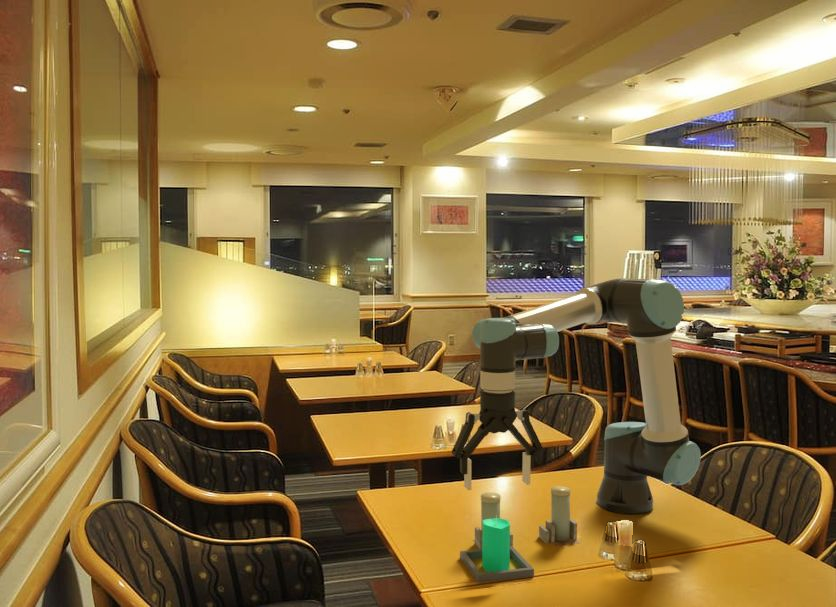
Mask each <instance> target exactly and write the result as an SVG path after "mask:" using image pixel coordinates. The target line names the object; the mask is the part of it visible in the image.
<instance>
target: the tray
mask: <svg viewBox="0 0 836 607" xmlns="http://www.w3.org/2000/svg"><path fill="white" fill-rule="evenodd" d="M510 557H511V559H513V560H514V562H516V564H517V565H518V566H519V567H520V568H514V569H509V570H503V571H494V572H488V571H486V572H481V570H479V568H478V567H477V566H476V565H475V563H474V562H473V560H474V559H476V560H477V559H482V549H479V548H478V549H469V550H461V551H459V559H460V560H461V562H462V564H463V565H464V566H465V567H466V569H467V570H468V571H469V573H470V574H471V575H472V577H473V578H474V580H475V581H476V582H477V584H482V583H490V582H491V583H492V582H499V581H508V580H517V579H523V578H524V579H525V578H533V577H535V569H534V568H533V566H532V565H531V564H530V563H529V562H528V561H527V560H526V559H525V558H524V556H522V555H521V554H520V553H519V552H518V550H517V549H516V548H514V545H513V546H510ZM526 583H529V582H526ZM520 584H521V583H518V585H520ZM509 585H510V586H512V584H511V583H510V584H509ZM501 586H504V584H503V585H501ZM492 587H495V586H493V585H492ZM484 588H487V586H486V587H484Z"/></svg>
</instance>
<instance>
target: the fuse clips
mask: <svg viewBox="0 0 836 607" xmlns="http://www.w3.org/2000/svg"><path fill="white" fill-rule="evenodd" d="M538 537H539V539H540V540H542V541H543V542H544V543H545V544H549V543H550V542H551V543H552V544H553V545H554V546H555V547H559V546H567V545H568V546H569V545H574V544H575V545H576V544H581V542H580V541H579V540H578V522H576V521H575V520H573V519H572V518H571V517H570V539H569V540H567V541H557V540H555V525H554V524H553V523H552V522H551V520H549V519H545V526H544V525H542V524H541V525H540V524H539V526H538ZM482 539H483V532H482V531H481V529H480V528H479V526H475V527H474V539H472V542H474V545H475V546H476V547H477V548H478V549H482ZM510 546H513V547H514V534H513V533H512V532H511V531H510Z"/></svg>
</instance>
